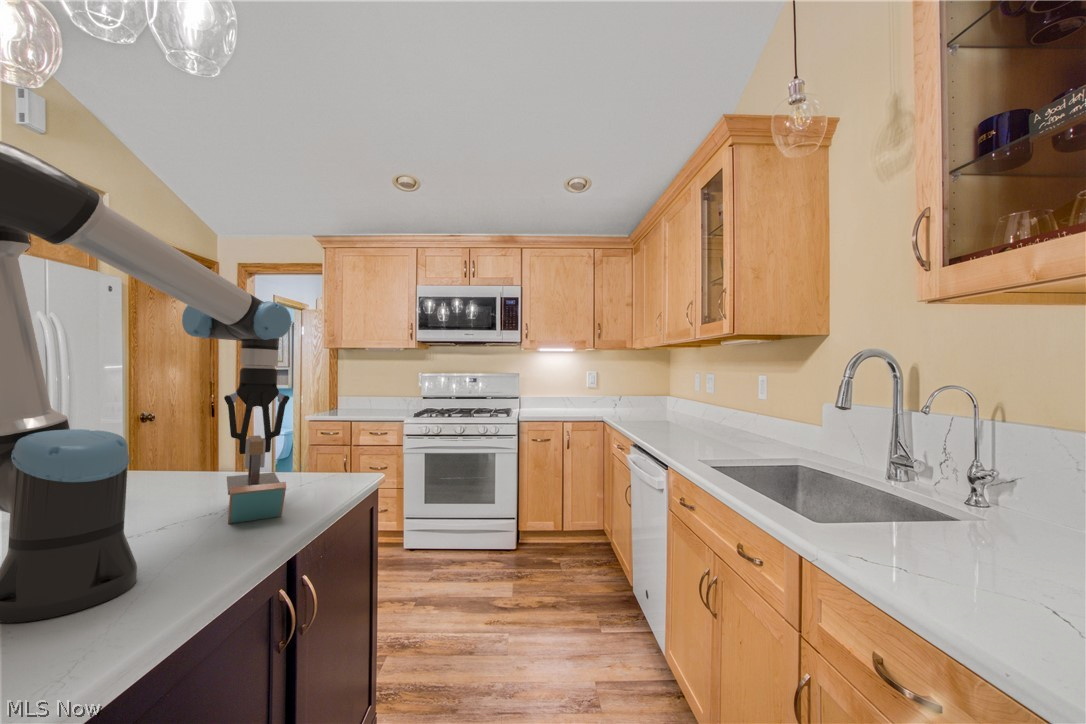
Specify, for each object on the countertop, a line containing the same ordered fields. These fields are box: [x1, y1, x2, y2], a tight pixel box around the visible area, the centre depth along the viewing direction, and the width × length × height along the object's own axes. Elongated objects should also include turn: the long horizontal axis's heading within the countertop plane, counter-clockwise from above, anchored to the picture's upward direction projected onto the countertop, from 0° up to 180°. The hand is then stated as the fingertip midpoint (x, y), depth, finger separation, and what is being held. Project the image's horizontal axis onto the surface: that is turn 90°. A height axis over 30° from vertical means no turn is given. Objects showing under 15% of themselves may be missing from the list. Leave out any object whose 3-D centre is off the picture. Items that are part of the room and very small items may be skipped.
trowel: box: [226, 434, 280, 496], centre depth 106 cm, size 16×10×11 cm, turn 36°
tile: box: [227, 481, 287, 525], centre depth 97 cm, size 2×10×10 cm
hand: (254, 466), depth 106 cm, fingers closed on trowel, 2 cm apart
